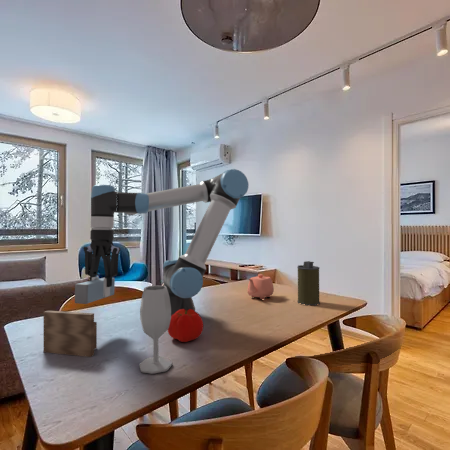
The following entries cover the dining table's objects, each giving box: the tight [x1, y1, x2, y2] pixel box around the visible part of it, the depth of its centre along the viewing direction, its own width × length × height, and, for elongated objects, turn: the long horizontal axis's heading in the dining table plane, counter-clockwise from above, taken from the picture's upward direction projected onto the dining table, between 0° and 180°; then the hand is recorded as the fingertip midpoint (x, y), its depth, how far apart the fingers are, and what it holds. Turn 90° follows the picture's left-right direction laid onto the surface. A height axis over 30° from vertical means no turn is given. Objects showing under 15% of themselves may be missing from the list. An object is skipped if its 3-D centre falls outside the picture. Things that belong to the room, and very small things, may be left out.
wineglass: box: [138, 284, 173, 375], centre depth 77 cm, size 9×9×21 cm
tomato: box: [167, 309, 204, 343], centre depth 97 cm, size 11×12×9 cm
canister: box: [297, 260, 321, 306], centre depth 141 cm, size 11×10×20 cm
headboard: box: [42, 310, 98, 358], centre depth 88 cm, size 16×6×12 cm, turn 78°
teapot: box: [246, 273, 275, 300], centre depth 152 cm, size 20×12×12 cm, turn 140°
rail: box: [74, 277, 116, 305], centre depth 100 cm, size 4×15×6 cm, turn 166°
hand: (100, 295), depth 102 cm, fingers closed on rail, 4 cm apart
